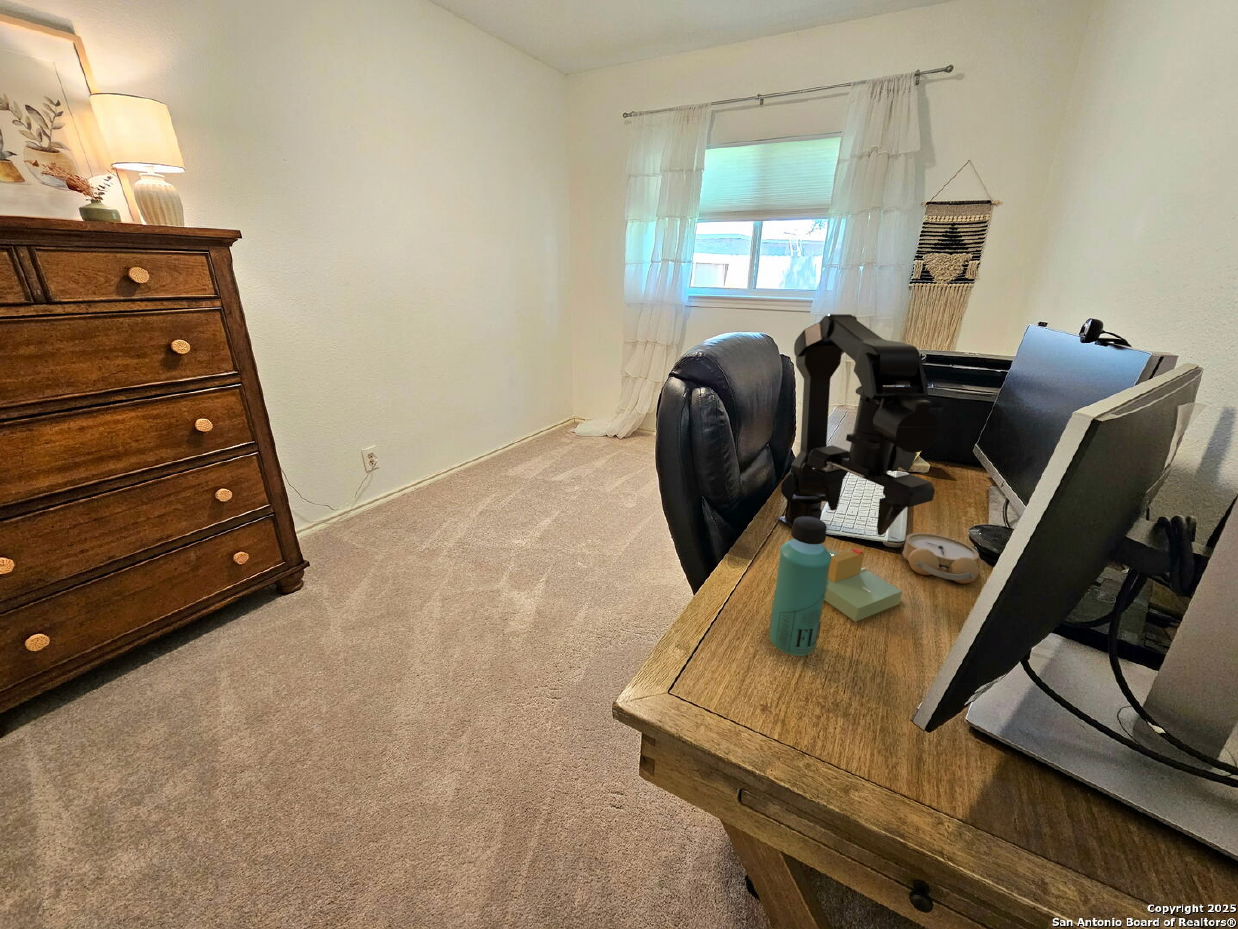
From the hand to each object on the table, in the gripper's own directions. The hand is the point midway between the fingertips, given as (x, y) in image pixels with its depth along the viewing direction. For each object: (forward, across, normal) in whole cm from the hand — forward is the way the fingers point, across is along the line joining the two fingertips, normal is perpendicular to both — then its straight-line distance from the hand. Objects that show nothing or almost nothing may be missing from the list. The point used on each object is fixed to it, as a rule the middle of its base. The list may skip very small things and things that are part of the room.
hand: (855, 521), depth 78 cm
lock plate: (+12, -1, +2) cm, 12 cm away
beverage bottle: (+12, -8, +20) cm, 25 cm away
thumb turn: (+9, -1, +2) cm, 9 cm away
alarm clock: (+12, -4, -19) cm, 23 cm away
